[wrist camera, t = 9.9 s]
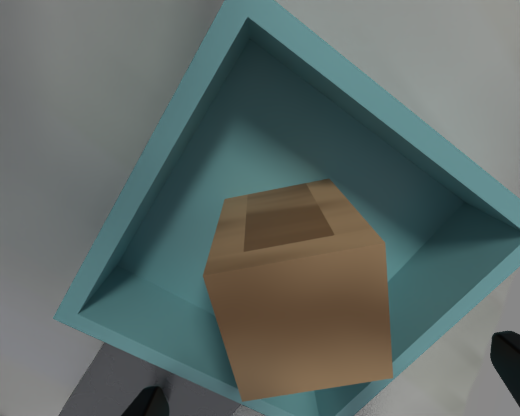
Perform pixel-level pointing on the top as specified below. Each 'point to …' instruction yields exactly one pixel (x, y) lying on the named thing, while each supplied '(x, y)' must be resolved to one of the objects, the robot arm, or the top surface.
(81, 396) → the stud plate
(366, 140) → the bin
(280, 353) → the taped shipping carton
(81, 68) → the top surface
